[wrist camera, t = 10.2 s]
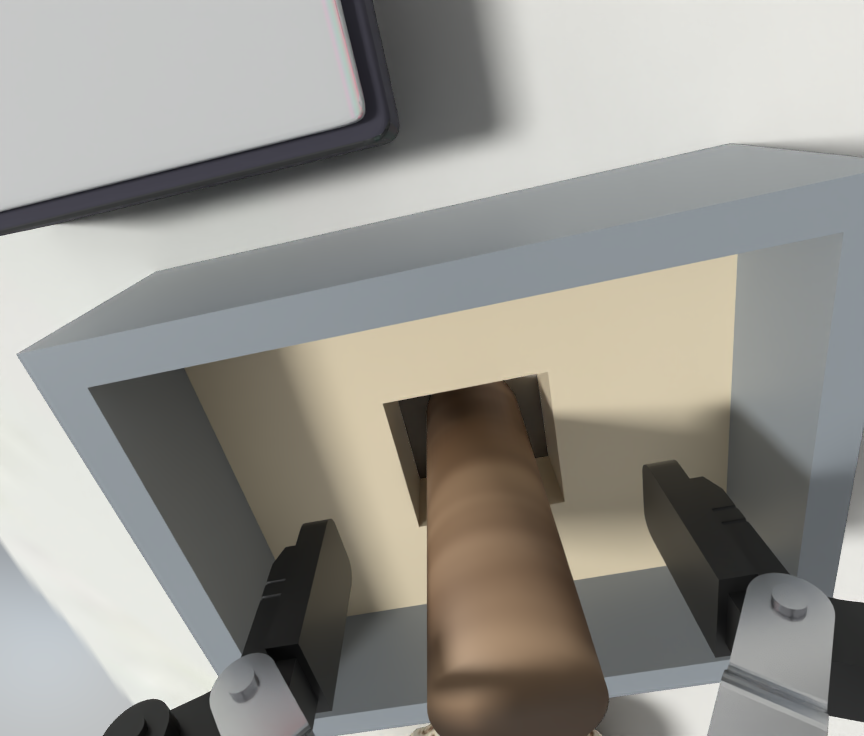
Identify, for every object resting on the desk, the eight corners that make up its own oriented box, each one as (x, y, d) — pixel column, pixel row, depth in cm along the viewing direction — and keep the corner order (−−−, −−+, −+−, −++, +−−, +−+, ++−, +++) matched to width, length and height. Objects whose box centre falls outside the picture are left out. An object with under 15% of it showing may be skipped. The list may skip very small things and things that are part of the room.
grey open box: (155, 271, 16) (16, 354, 10) (730, 143, 14) (911, 162, 9) (302, 590, 22) (262, 745, 16) (716, 522, 20) (819, 668, 15)
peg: (417, 382, 18) (409, 663, 9) (510, 364, 17) (602, 634, 8) (436, 457, 19) (446, 768, 10) (523, 442, 19) (614, 746, 10)
